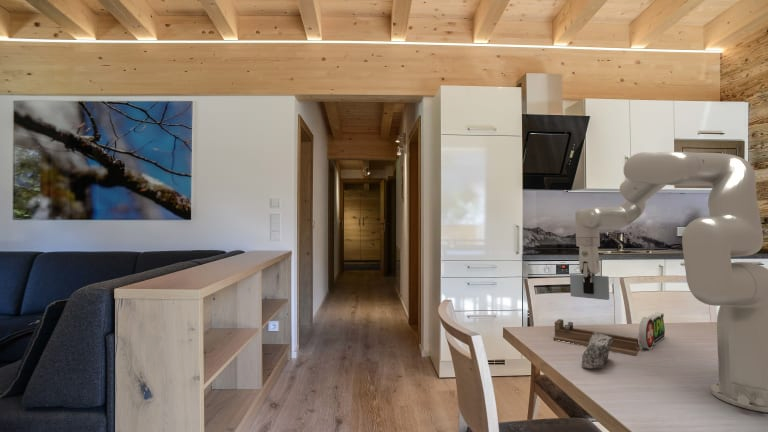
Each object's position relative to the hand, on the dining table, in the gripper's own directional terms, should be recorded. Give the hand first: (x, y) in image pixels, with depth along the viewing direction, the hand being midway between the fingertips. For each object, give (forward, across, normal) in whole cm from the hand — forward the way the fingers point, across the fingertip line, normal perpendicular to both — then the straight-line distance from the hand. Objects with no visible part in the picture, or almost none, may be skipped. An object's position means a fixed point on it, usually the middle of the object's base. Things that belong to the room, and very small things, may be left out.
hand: (589, 292), depth 130 cm
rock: (+17, -28, -6) cm, 33 cm away
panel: (+2, 0, 0) cm, 2 cm away
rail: (+16, -8, -2) cm, 18 cm away
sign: (+17, +5, -18) cm, 25 cm away
